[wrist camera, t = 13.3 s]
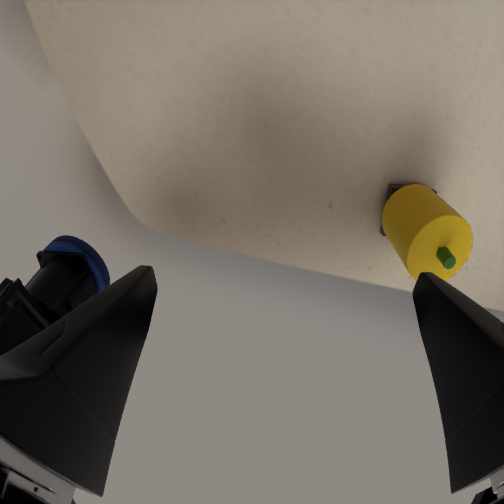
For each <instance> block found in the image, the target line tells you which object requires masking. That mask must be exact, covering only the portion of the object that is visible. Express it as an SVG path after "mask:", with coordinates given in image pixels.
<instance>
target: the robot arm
mask: <svg viewBox="0 0 504 504" xmlns="http://www.w3.org/2000/svg"><path fill="white" fill-rule="evenodd" d="M36 256H37V259H38V261H39V264H40V266H41V268H40V269H39V270H38V272H37V273H36V274H35V275H34V276H33V277H32V279H31V280H30V281H29V282H28V283H27V285H26V286H25V287H24V286H23V285H22V282H21V280H20V279H19V278H17V279H16V280H15V281H14V282H13V281H12V280H10V279H7V278H5V279H4V280H3V281H2V283H1V284H0V504H76V503H75V502H74V500H73V495H74V491H75V487H77V488H79V489H82V490H84V491H86V492H89V493H91V494H94V495H97V496H99V497H102V496H103V492H104V488H105V483H106V479H107V474H108V469H109V465H110V461H111V457H112V453H113V449H114V445H115V440H116V436H117V432H118V429H119V425H120V421H121V418H122V414H123V411H124V407H125V403H126V400H127V397H128V393H129V390H130V386H131V383H132V380H133V377H134V373H135V370H136V367H137V364H138V361H139V358H140V355H141V351H142V348H143V346H144V342H145V340H146V337H147V333H148V330H149V326H150V322H151V317H152V313H153V308H154V303H155V299H156V295H157V283H156V279H155V274H154V270H153V268H152V267H151V266H144V265H141V266H139V267H137V268H135V269H134V270H132V271H131V272H129V273H128V274H126V275H125V276H123V277H122V278H120V279H119V280H117V281H116V282H114V283H112V284H111V285H109V286H108V287H106V288H105V289H103V290H102V291H100V292H98V289H97V287H96V284H95V281H94V278H93V276H92V273H91V270H90V267H89V264H88V261H87V258H86V256H85V254H83V253H81V252H58V251H39V252H38V253H37V255H36ZM80 257H81V258H82V259H81V258H80ZM413 300H414V304H415V309H416V314H417V319H418V323H419V328H420V332H421V336H422V340H423V343H424V347H425V350H426V354H427V357H428V361H429V365H430V369H431V373H432V377H433V381H434V385H435V389H436V393H437V398H438V403H439V408H440V413H441V418H442V423H443V429H444V435H445V439H446V440H445V443H446V450H447V457H448V465H449V475H450V487H451V493H452V494H454V493H456V492H459V491H461V490H463V489H466V488H468V487H470V486H473V485H475V484H477V483H479V482H481V481H483V480H485V479H487V478H489V477H490V480H491V484H492V487H490V488H488V489H486V490H484V491H482V492H480V493H478V494H476V495H475V497H474V499H473V502H472V503H471V504H504V323H503V322H501V321H500V320H499V319H497V318H496V317H495V316H494V315H492V314H491V313H490V312H488V311H487V310H485V309H484V308H483V307H481V306H480V305H479V304H477V303H476V302H474V301H473V300H472V299H470V298H469V297H467V296H466V295H465V294H463V293H462V292H460V291H459V290H457V289H456V288H454V287H453V286H451V285H450V284H449V283H447V282H446V281H444V280H443V279H441V278H440V277H438V276H437V275H435V274H434V273H432V272H421V273H420V274H419V276H418V279H417V282H416V284H415V287H414V290H413Z"/></svg>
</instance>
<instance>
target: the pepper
mask: <svg viewBox="0 0 504 504" xmlns="http://www.w3.org/2000/svg"><path fill="white" fill-rule="evenodd" d="M382 226H383V230H384V232H385V234H386V236H387V237H388V239H389V240H390V242H391V244H392V245H393V247H394V248H395V250H396V252H397V253H398V255H399V257H400V258H401V260H402V262H403V263H404V265H405V267H406V269H407V270H408V272H409V274H410V275H411V277H412V278H413V279H414V280H416V281H417V279H418V276H419V274H420V273H421V272H432V273H434V274H435V275H437V276H438V277H440V278H441V279H443V280H444V281H445V280H447V279H449V278H450V277H452V276H453V275H454V274H455V273H457V272H458V271H459V270H460V269H461V267H462V266H463V265H464V263H465V262H466V260H467V258H468V256H469V254H470V251H471V248H472V241H473V238H472V231H471V228H470V226H469V224H468V223H467V221H466V220H465V219H464V218H463V217H462V216H460V215H459V214H458V213H457V212H456V211H455V210H454V209H453V208H452V207H451V206H450V205H448V204H447V203H446V202H445V201H444V200H443V199H442V198H440V197H439V196H438V195H437V194H436V193H435V192H433V191H432V190H431V189H430V188H428V187H427V186H424V185H420V184H411V185H407V186H404V187H402V188H400V189H399V190H397V191H396V192H395V193H394V194H393V195H392V196H391V197H390V198H389V200H388V201H387V203H386V205H385V207H384V210H383V214H382Z"/></svg>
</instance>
